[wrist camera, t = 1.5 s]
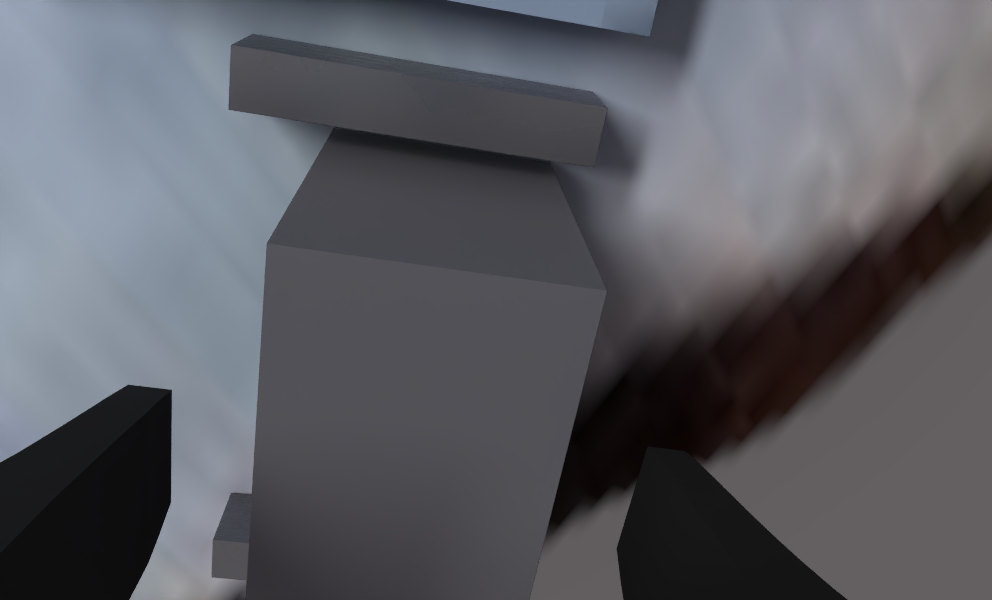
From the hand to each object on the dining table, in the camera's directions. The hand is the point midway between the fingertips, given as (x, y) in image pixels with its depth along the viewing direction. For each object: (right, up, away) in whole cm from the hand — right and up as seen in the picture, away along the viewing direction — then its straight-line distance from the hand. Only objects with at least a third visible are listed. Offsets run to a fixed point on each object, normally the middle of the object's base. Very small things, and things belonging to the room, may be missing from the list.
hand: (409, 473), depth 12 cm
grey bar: (0, +2, +4) cm, 5 cm away
